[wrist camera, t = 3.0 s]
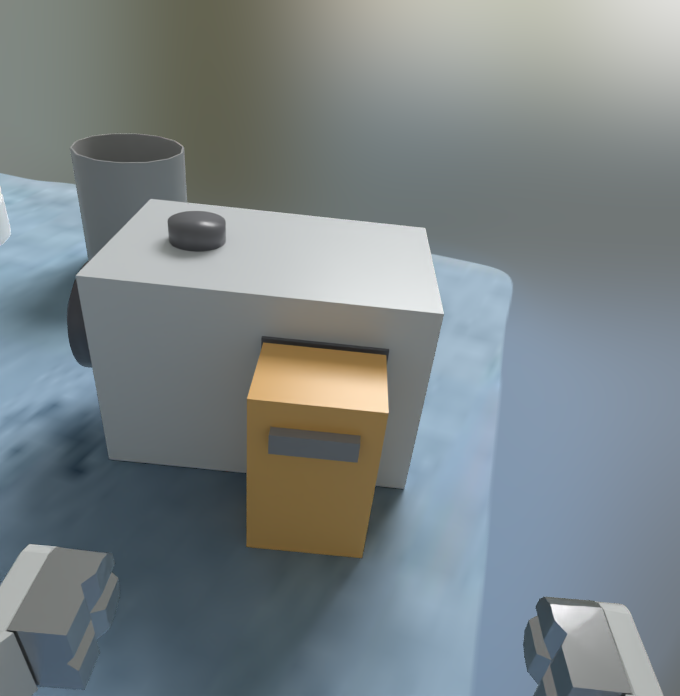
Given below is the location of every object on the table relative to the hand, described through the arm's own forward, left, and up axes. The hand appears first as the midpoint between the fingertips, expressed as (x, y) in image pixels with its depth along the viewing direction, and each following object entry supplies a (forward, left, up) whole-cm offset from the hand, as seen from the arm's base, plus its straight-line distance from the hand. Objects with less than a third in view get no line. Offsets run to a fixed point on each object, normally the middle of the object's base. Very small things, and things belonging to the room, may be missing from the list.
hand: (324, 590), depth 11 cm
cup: (+15, +40, -13) cm, 44 cm away
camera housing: (+11, +18, -13) cm, 24 cm away
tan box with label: (+8, +9, -13) cm, 18 cm away
